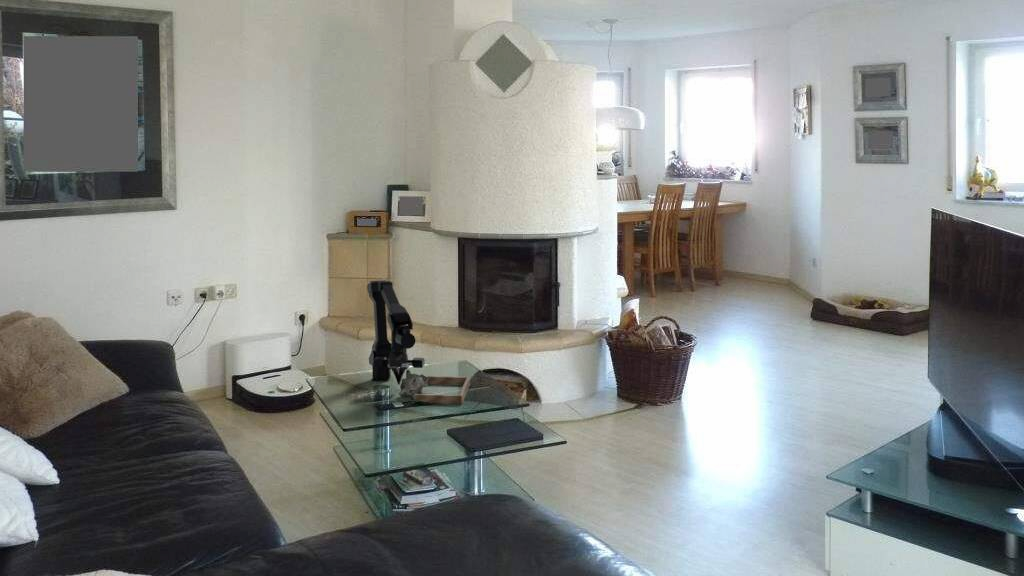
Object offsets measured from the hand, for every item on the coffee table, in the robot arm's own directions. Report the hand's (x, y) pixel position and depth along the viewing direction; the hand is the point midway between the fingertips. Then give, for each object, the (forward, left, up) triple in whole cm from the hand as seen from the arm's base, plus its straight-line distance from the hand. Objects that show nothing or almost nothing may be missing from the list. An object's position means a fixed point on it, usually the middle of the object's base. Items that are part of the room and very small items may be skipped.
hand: (399, 384), depth 350 cm
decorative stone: (+6, -2, -3) cm, 7 cm away
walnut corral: (+16, +1, -3) cm, 16 cm away
